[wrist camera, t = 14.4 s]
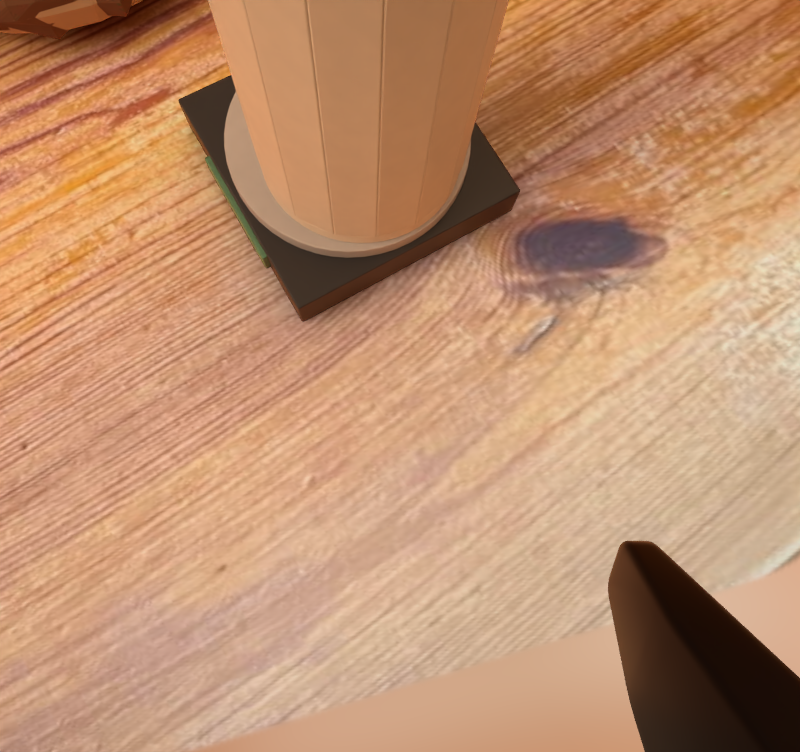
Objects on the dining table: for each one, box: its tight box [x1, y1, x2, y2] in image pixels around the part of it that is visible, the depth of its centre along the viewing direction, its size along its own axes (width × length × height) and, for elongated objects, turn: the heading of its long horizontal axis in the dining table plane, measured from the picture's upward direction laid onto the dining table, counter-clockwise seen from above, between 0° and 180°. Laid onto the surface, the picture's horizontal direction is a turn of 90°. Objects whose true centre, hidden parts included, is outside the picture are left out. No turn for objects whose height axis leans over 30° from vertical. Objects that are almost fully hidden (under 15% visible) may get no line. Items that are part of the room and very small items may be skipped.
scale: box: [179, 75, 520, 321], centre depth 24 cm, size 9×9×2 cm
